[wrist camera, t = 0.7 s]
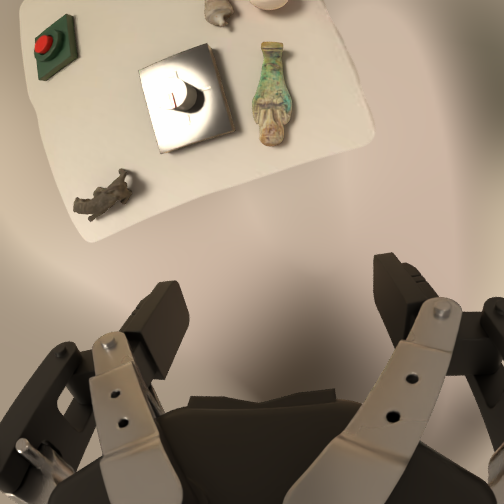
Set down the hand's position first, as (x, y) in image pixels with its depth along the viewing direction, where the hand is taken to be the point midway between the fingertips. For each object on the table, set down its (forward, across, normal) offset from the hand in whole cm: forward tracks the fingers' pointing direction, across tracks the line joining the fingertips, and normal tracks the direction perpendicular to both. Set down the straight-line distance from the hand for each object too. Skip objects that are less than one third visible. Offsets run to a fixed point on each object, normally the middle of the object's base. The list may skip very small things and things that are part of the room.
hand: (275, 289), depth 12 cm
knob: (+30, +11, -14) cm, 35 cm away
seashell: (+34, +5, -31) cm, 46 cm away
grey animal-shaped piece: (+33, +28, -2) cm, 44 cm away
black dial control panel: (+33, +11, -14) cm, 38 cm away
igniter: (+34, +35, -35) cm, 60 cm away
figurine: (+34, -1, -12) cm, 35 cm away
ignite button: (+30, +35, -35) cm, 58 cm away
